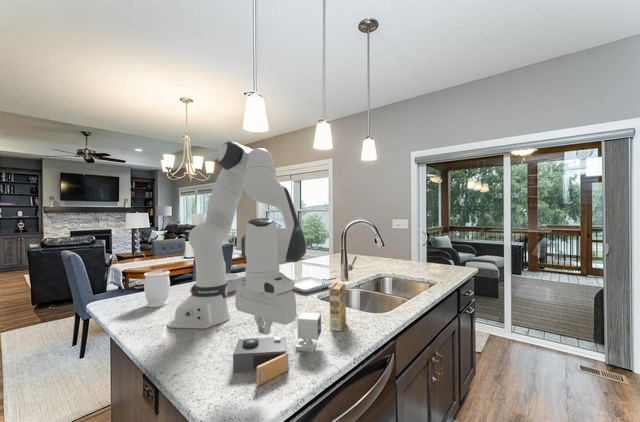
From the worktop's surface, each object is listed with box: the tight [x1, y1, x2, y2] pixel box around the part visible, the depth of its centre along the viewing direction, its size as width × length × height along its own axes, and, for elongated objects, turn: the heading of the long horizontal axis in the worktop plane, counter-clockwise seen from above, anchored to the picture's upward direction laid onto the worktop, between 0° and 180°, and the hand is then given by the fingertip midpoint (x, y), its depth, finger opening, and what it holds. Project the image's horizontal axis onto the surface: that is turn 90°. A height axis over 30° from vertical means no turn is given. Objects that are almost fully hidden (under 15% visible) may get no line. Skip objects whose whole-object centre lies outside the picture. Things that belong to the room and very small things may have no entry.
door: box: [256, 351, 289, 387], centre depth 75 cm, size 10×2×5 cm, turn 136°
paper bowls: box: [226, 273, 242, 294], centre depth 157 cm, size 15×15×8 cm
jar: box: [143, 270, 171, 308], centre depth 134 cm, size 11×10×15 cm
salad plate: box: [292, 276, 334, 294], centre depth 162 cm, size 21×21×3 cm
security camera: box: [295, 312, 322, 353], centre depth 91 cm, size 6×7×10 cm
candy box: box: [329, 282, 347, 332], centre depth 107 cm, size 9×4×15 cm, turn 162°
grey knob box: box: [232, 336, 287, 374], centre depth 82 cm, size 14×9×6 cm, turn 96°
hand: (264, 333), depth 76 cm, fingers closed
